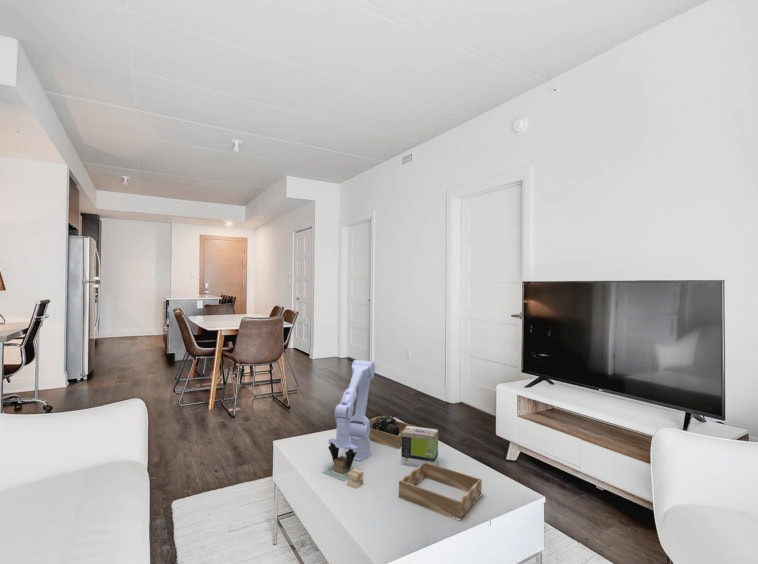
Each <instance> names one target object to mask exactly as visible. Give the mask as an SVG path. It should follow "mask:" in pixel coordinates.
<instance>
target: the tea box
mask: <svg viewBox="0 0 758 564" xmlns="http://www.w3.org/2000/svg"><path fill="white" fill-rule="evenodd" d="M415 426H416V425H414V426H407V427H406V428H405V429H404V430H403V431H402V447H400V448H401V451H400V452H401V453H400V455H401V457H400V459H401V460H400V461H401V463H400V464H401V465H404V466H410V467H415V468H417V467H419V466H420V465H421V464H423V463H424V462H427V463H430V464H433V465H437V463H438V462H439V461H438V460H439V429H438V428H429V427H423V426H422V427H421V426H417V427H415Z"/></svg>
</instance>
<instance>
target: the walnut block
mask: <svg viewBox="0 0 758 564" xmlns="http://www.w3.org/2000/svg"><path fill="white" fill-rule="evenodd" d="M333 466H334V472H336V473H339V474H341V475H344V474H345V473H347V472H349V471H350V468H347V458H346V456H344V455H340V456H338V458H336V459H335V460H334V463H333Z"/></svg>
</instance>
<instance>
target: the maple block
mask: <svg viewBox="0 0 758 564" xmlns="http://www.w3.org/2000/svg"><path fill="white" fill-rule="evenodd" d="M357 469H358V468H357ZM357 469H353V470H351V471H350V472H348V476H347V480H346V482H347V483H346V485H347V486H349V487H352V488H354V489H358V488H359V487H361V486H362V485H364V471H363V470H362V471H360V470H361V469H360V470H357Z"/></svg>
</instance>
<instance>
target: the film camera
mask: <svg viewBox="0 0 758 564" xmlns="http://www.w3.org/2000/svg"><path fill="white" fill-rule="evenodd" d="M381 417H382V418H380V420H376V421H375V422H374V423H373V425H372V429H375V430H379V431H382V432H386V433H389V434H393V435H396V436H398V435H400V434H399V432H400V430H399V428H398V427H397V426H395V425H394V423H395V422H396V421H397V419H396V418H394V417H393V416H391V415H390V416H388V415H382V416H381Z"/></svg>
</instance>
